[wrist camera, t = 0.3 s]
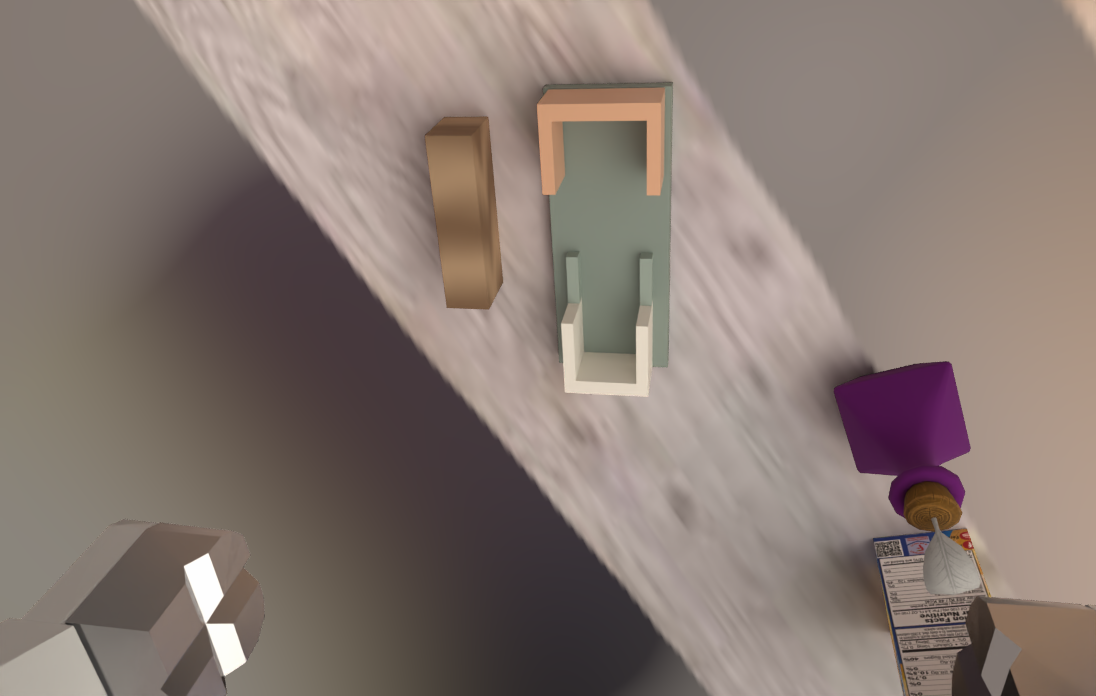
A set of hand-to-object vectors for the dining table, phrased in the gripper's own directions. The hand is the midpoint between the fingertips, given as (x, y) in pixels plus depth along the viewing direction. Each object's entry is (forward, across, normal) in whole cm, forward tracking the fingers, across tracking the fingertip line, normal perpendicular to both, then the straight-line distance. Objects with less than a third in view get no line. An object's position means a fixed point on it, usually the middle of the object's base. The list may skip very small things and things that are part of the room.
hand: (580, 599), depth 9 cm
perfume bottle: (+47, -14, +27) cm, 56 cm away
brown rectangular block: (+47, +15, +12) cm, 51 cm away
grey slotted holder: (+47, +5, +15) cm, 49 cm away
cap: (+45, +5, +7) cm, 46 cm away
